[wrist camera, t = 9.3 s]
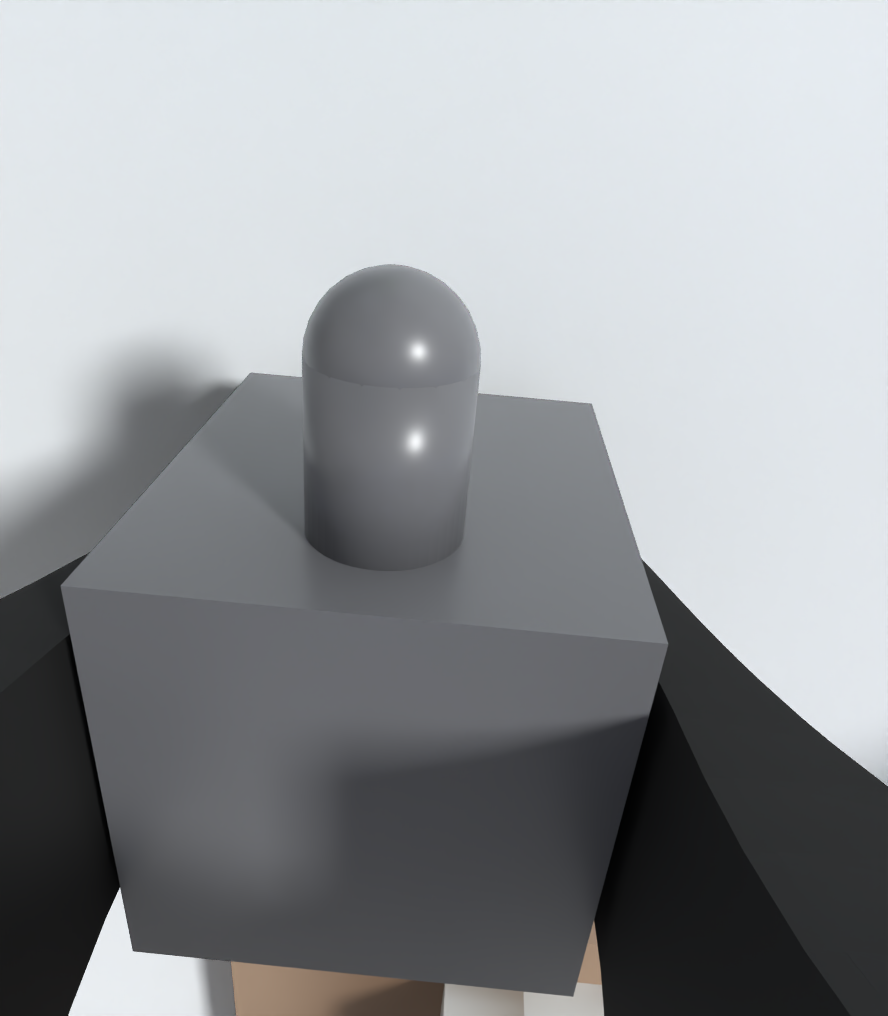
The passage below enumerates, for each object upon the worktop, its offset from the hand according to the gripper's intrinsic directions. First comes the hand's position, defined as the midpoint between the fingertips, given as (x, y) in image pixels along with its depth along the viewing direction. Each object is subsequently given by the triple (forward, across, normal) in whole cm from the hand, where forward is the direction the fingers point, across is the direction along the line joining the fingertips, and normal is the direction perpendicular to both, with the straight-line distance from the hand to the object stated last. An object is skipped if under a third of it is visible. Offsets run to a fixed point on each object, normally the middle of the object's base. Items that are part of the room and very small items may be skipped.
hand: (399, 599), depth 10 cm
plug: (+2, 0, -1) cm, 3 cm away
